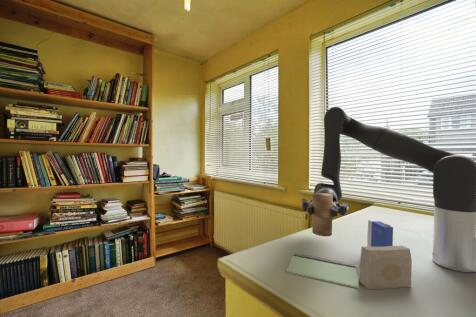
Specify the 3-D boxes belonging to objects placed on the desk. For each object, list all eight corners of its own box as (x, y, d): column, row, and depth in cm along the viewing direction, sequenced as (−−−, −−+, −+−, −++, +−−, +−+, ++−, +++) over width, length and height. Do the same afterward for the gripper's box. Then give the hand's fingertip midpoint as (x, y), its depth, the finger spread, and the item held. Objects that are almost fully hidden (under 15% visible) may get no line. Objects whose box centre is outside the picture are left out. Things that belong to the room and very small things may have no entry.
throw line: (355, 265, 67) (355, 264, 67) (355, 267, 66) (355, 266, 66) (294, 253, 74) (294, 252, 74) (293, 255, 73) (293, 254, 73)
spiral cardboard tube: (332, 231, 65) (333, 193, 65) (331, 237, 60) (332, 196, 60) (313, 228, 67) (314, 192, 67) (311, 234, 62) (312, 195, 62)
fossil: (399, 279, 60) (401, 244, 60) (411, 287, 56) (412, 249, 56) (358, 282, 58) (359, 245, 58) (367, 290, 55) (368, 251, 55)
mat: (356, 269, 64) (356, 268, 64) (358, 288, 55) (358, 287, 55) (292, 257, 72) (292, 255, 72) (286, 272, 63) (286, 270, 63)
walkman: (392, 265, 67) (393, 226, 67) (383, 266, 67) (384, 226, 67) (374, 253, 75) (375, 218, 75) (366, 254, 75) (367, 218, 74)
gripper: (303, 187, 79) (295, 196, 64) (349, 191, 73) (351, 201, 58) (303, 208, 79) (294, 222, 64) (348, 214, 73) (351, 230, 58)
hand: (321, 212), depth 61 cm, fingers closed on spiral cardboard tube, 5 cm apart
